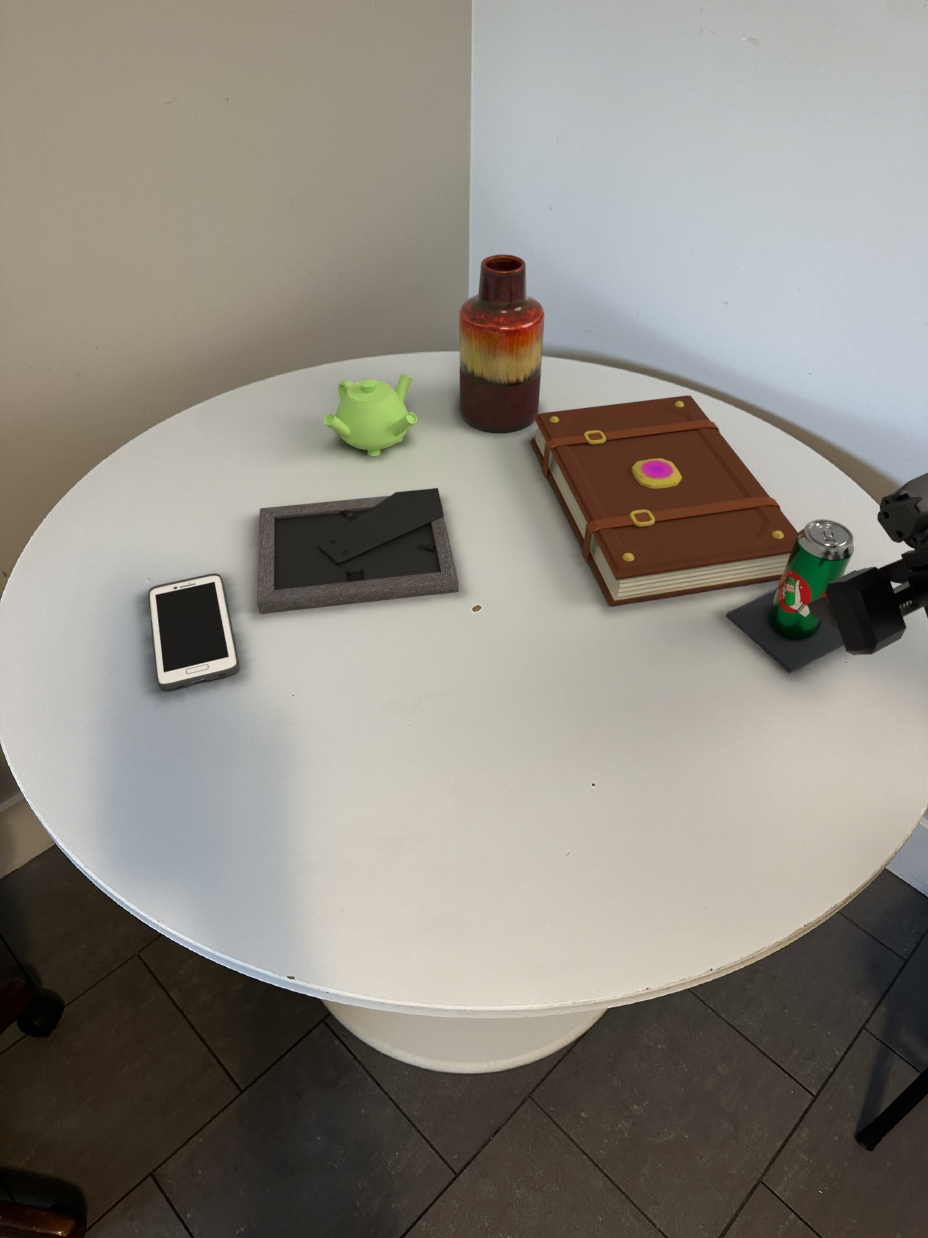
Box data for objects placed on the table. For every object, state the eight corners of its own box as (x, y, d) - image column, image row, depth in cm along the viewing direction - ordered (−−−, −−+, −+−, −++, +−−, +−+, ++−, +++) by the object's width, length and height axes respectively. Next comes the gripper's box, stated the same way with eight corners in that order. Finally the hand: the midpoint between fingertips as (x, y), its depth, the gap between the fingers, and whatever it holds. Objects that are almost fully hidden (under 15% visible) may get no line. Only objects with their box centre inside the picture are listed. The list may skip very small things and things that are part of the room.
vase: (554, 414, 112) (567, 265, 98) (494, 442, 107) (498, 289, 93) (502, 383, 118) (507, 238, 103) (444, 408, 113) (440, 260, 99)
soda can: (812, 609, 85) (851, 518, 76) (822, 645, 81) (864, 553, 73) (762, 605, 85) (795, 514, 76) (770, 641, 82) (805, 549, 73)
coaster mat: (789, 586, 88) (790, 582, 87) (855, 639, 82) (856, 635, 82) (726, 616, 85) (727, 612, 84) (790, 673, 79) (791, 669, 79)
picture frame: (438, 501, 99) (262, 518, 96) (438, 487, 97) (259, 505, 95) (458, 591, 88) (259, 613, 85) (458, 577, 86) (256, 599, 84)
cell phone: (159, 694, 78) (156, 687, 77) (149, 593, 87) (146, 586, 87) (241, 674, 79) (239, 667, 79) (222, 577, 89) (220, 570, 88)
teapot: (333, 418, 112) (326, 361, 106) (417, 415, 112) (414, 358, 106) (329, 465, 104) (320, 407, 98) (419, 462, 104) (416, 403, 98)
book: (607, 607, 86) (613, 572, 82) (528, 442, 107) (530, 409, 104) (806, 576, 89) (820, 540, 85) (690, 422, 111) (697, 388, 107)
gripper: (1053, 431, 63) (886, 478, 78) (888, 506, 57) (740, 541, 72) (1097, 566, 64) (924, 586, 79) (940, 655, 58) (782, 659, 72)
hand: (845, 590), depth 75 cm, fingers open, 9 cm apart
